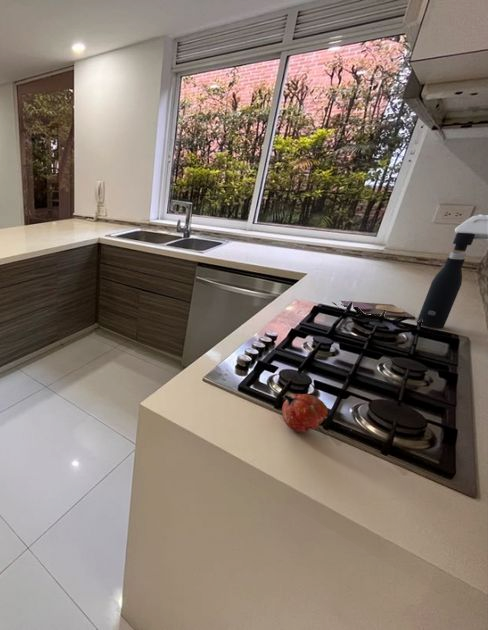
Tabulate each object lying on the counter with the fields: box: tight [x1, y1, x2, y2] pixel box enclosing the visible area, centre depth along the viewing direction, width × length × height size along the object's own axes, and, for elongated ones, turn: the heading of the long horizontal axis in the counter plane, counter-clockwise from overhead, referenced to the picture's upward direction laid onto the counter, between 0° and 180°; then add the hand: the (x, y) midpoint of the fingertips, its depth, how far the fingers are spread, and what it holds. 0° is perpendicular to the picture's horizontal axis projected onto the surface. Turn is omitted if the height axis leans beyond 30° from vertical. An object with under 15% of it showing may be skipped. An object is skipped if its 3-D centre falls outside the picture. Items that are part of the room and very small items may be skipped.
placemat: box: [340, 300, 416, 320], centre depth 127 cm, size 20×14×1 cm
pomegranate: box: [281, 393, 329, 436], centre depth 64 cm, size 7×7×10 cm
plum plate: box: [341, 300, 372, 311], centre depth 128 cm, size 9×9×1 cm
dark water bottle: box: [416, 233, 476, 330], centre depth 107 cm, size 6×6×30 cm
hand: (480, 249), depth 106 cm, fingers open, 8 cm apart
